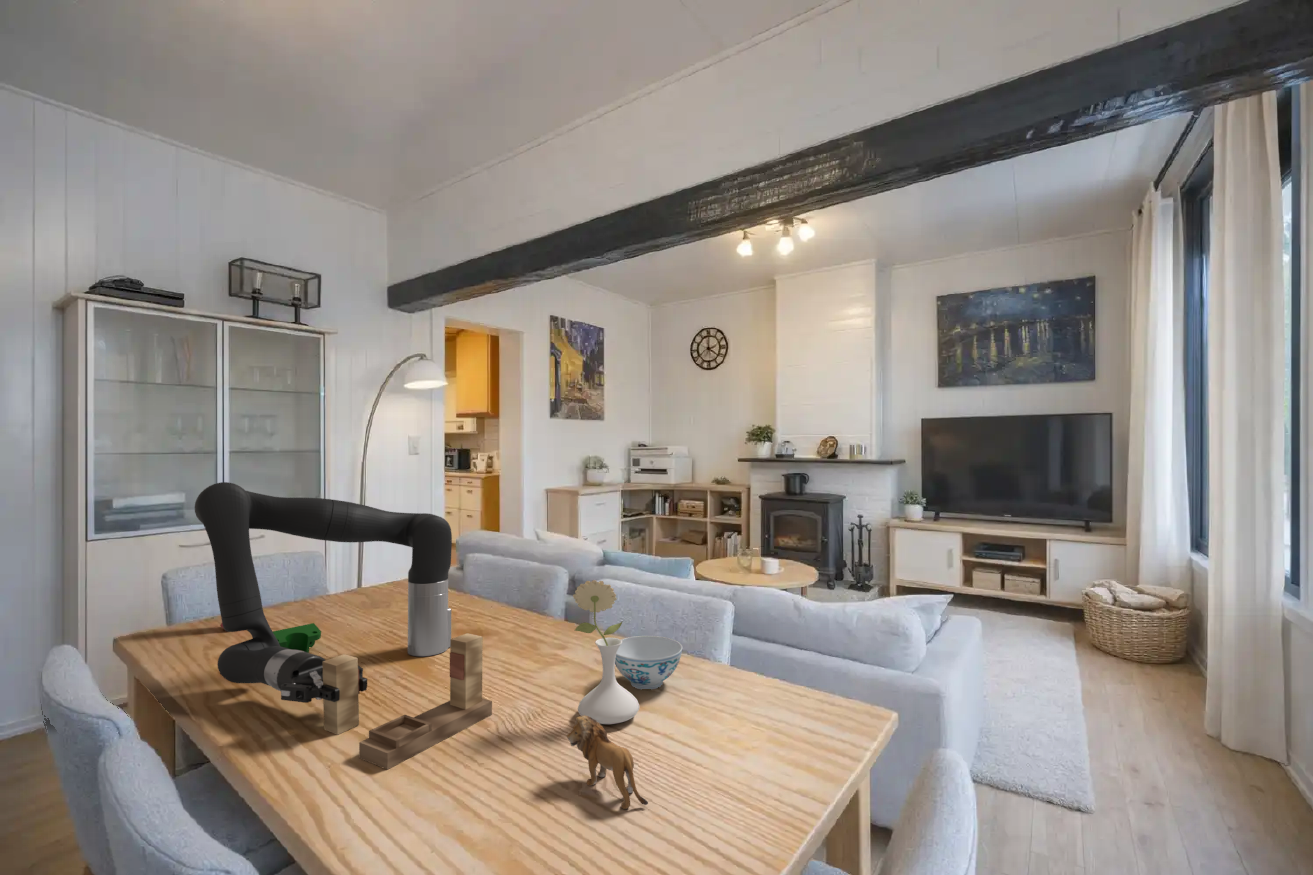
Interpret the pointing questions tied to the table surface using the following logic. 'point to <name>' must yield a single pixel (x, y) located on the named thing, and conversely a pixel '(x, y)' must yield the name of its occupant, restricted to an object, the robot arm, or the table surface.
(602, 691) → the flower in vase
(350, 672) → the tall wooden pillar
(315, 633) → the clamp
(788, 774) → the table surface
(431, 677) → the table surface
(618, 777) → the lion figurine
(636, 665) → the chinaware
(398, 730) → the wooden block stand
